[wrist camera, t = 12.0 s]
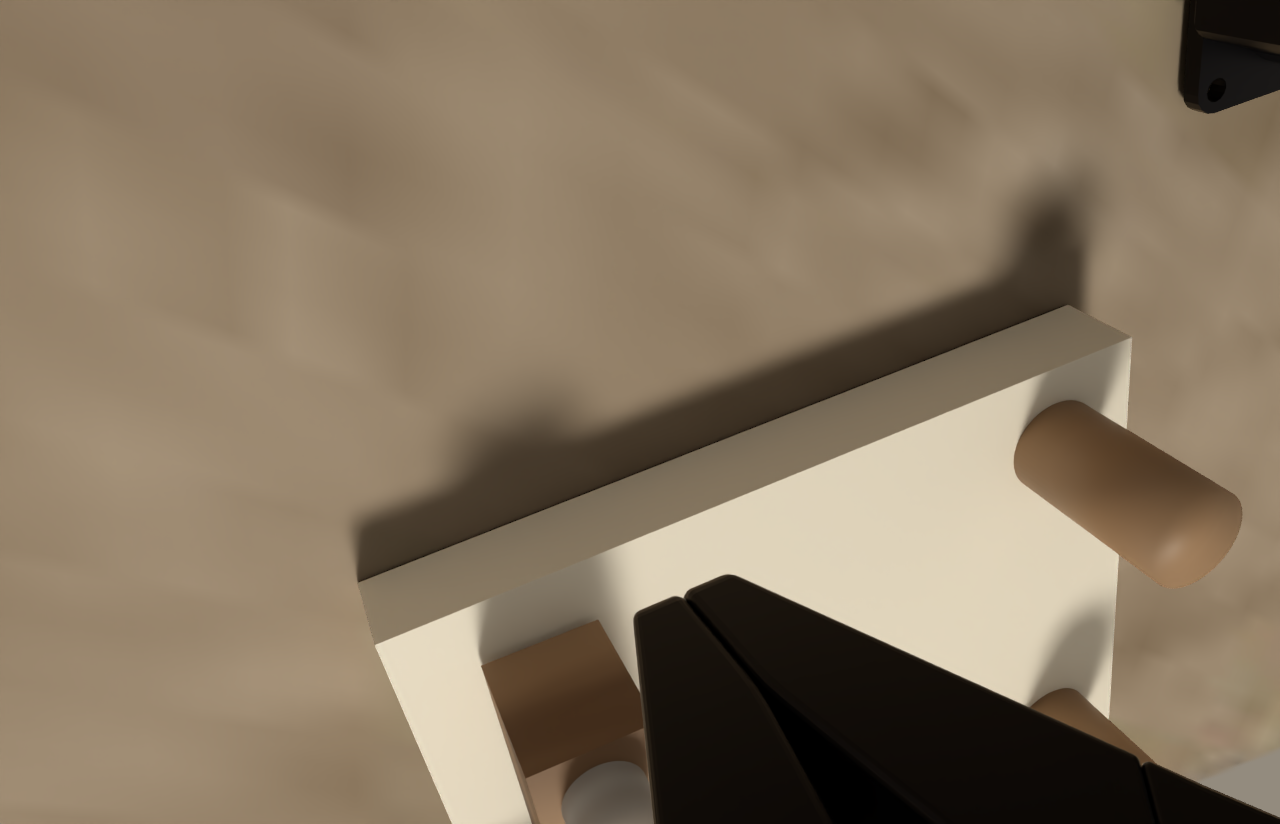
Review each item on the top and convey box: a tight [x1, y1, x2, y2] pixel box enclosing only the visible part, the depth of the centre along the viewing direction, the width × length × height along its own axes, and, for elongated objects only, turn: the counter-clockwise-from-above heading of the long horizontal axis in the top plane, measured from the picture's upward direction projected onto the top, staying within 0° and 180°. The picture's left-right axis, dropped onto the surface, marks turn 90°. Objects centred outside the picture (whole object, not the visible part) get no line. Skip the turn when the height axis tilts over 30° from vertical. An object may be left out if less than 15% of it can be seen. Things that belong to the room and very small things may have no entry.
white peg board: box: [358, 305, 1242, 824], centre depth 24 cm, size 17×13×6 cm
